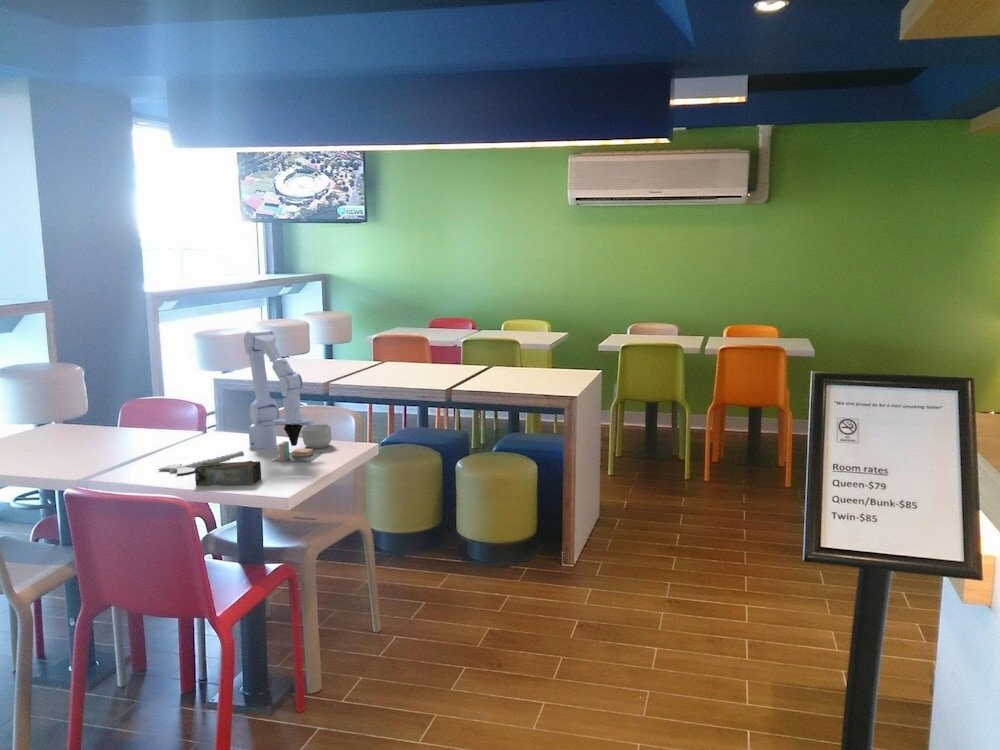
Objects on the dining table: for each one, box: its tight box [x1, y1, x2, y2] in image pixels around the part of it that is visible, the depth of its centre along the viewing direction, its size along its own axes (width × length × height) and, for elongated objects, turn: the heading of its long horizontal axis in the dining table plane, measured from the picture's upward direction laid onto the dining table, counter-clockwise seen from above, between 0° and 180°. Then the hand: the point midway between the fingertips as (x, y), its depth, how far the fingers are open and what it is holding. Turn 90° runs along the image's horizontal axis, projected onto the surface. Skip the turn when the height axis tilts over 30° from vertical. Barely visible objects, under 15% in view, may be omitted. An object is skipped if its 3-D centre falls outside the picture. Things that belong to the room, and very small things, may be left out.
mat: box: [271, 452, 324, 464], centre depth 301 cm, size 14×14×1 cm
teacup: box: [301, 423, 332, 449], centre depth 319 cm, size 14×11×8 cm
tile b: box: [278, 440, 290, 463], centre depth 298 cm, size 2×5×6 cm, turn 172°
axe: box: [157, 450, 245, 475], centre depth 295 cm, size 30×14×2 cm, turn 143°
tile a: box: [291, 448, 314, 457], centre depth 304 cm, size 2×5×6 cm
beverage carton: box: [194, 460, 262, 487], centre depth 271 cm, size 8×19×7 cm, turn 90°
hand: (294, 445), depth 304 cm, fingers closed
